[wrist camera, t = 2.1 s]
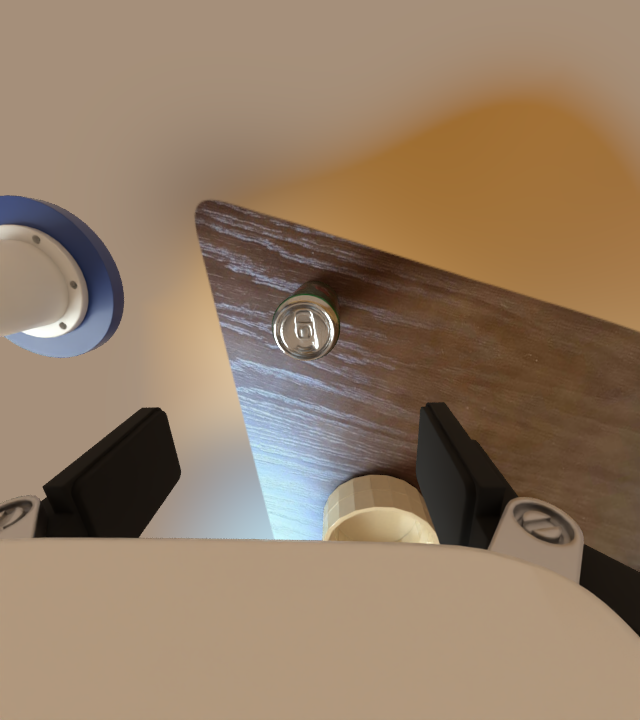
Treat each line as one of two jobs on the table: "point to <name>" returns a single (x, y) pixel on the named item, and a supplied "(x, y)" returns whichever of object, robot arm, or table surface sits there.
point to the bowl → (377, 512)
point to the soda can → (308, 322)
